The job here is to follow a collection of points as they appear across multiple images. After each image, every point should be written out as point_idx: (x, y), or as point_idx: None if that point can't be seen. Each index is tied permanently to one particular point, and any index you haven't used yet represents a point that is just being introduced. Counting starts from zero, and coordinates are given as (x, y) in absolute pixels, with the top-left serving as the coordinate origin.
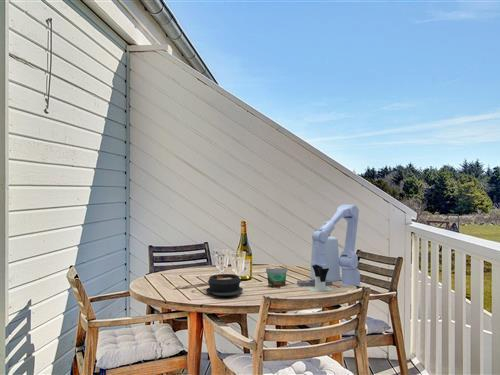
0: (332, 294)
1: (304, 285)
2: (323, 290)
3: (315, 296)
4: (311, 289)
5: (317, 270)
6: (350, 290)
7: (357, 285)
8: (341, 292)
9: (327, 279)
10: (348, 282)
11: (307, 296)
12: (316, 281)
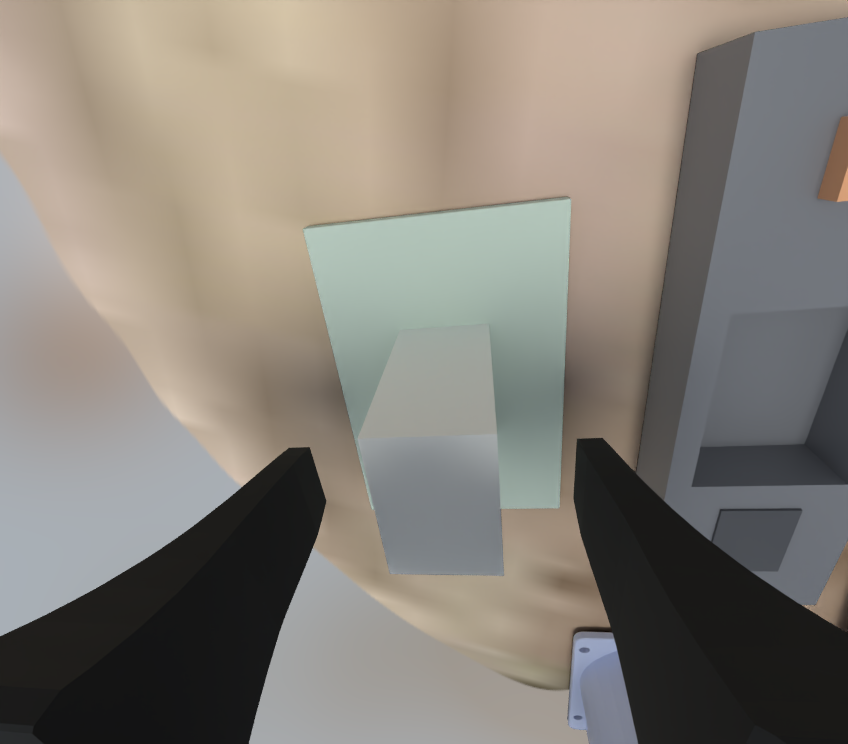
0: (216, 445)
1: (696, 162)
2: (349, 399)
3: (53, 226)
4: (414, 248)
5: (646, 637)
6: (404, 617)
7: (569, 707)
8: (319, 539)
9: (815, 593)
10: (592, 697)
11: (4, 91)
12: (399, 390)
